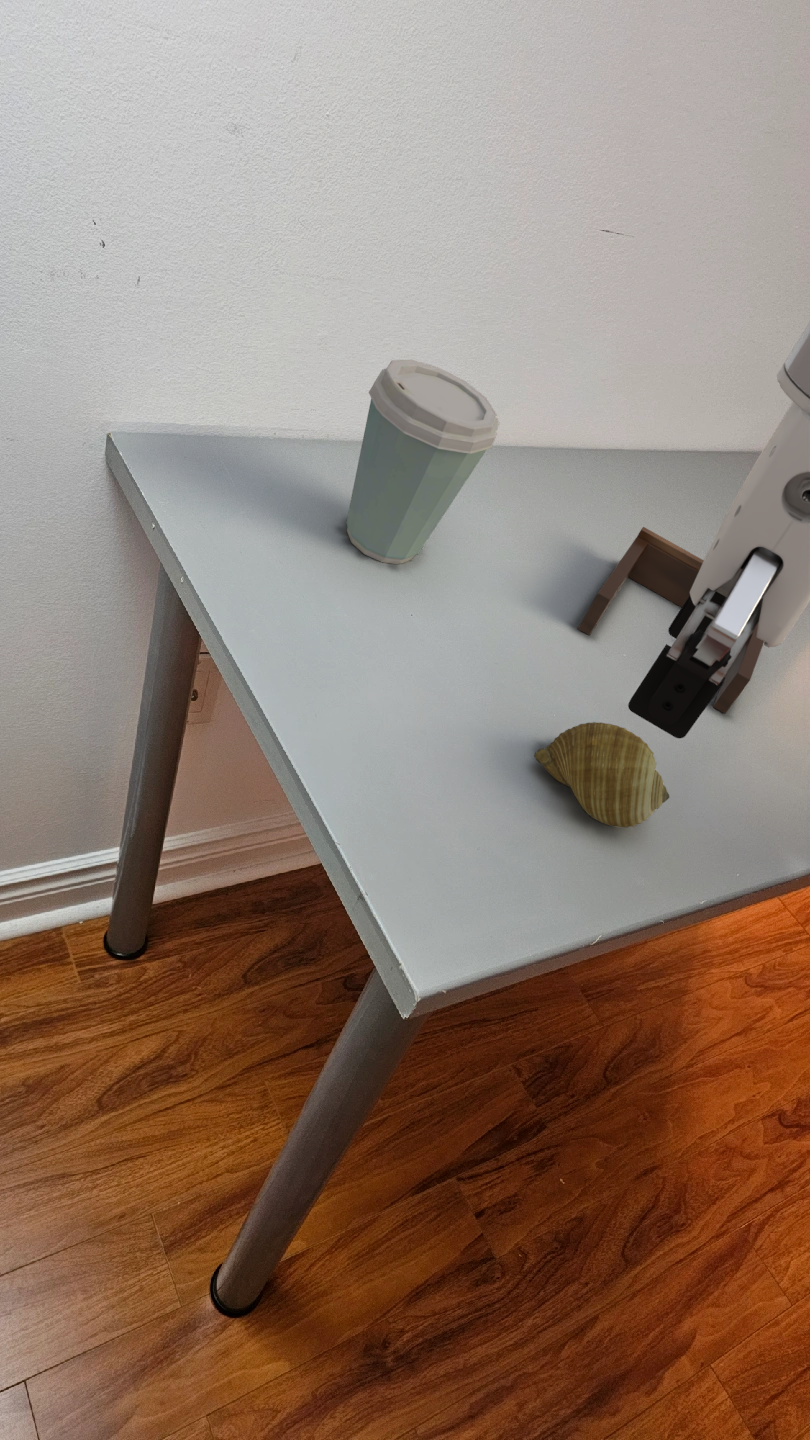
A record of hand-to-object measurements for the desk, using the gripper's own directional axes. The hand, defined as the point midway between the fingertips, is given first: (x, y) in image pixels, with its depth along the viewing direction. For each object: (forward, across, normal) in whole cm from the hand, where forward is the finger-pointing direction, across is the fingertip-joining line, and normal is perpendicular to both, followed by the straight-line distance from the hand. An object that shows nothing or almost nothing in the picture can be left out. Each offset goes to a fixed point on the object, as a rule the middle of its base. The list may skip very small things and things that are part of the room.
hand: (675, 680), depth 56 cm
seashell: (+18, +11, 0) cm, 21 cm away
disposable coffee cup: (+18, +26, +25) cm, 40 cm away
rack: (+18, +37, 0) cm, 41 cm away
